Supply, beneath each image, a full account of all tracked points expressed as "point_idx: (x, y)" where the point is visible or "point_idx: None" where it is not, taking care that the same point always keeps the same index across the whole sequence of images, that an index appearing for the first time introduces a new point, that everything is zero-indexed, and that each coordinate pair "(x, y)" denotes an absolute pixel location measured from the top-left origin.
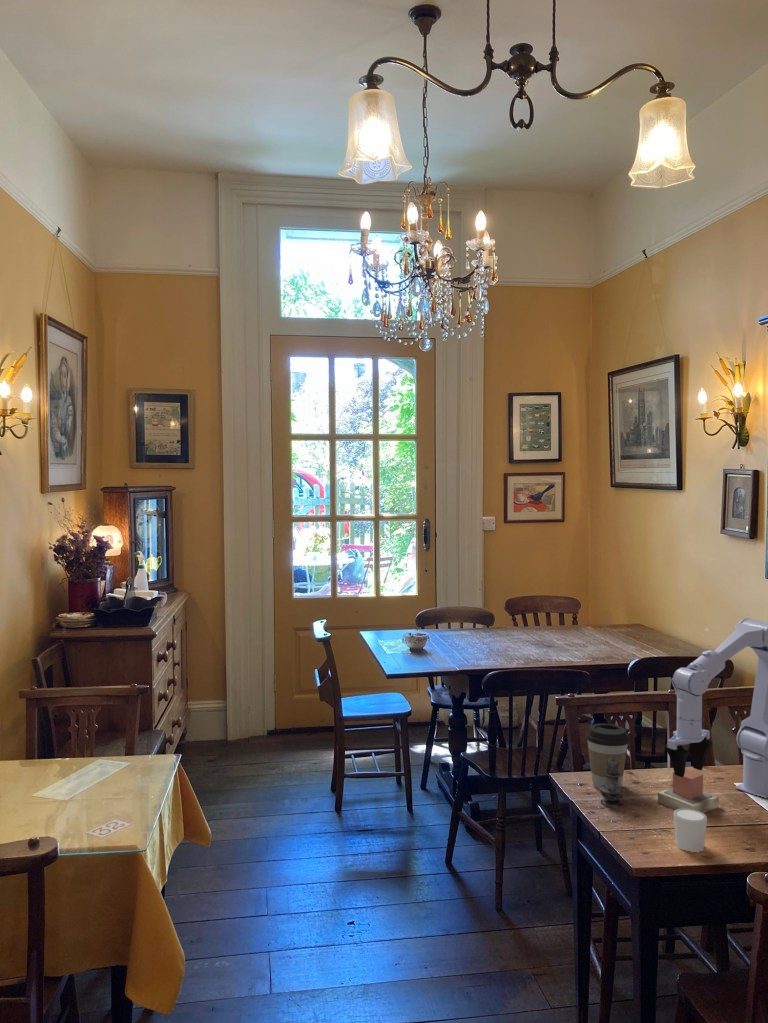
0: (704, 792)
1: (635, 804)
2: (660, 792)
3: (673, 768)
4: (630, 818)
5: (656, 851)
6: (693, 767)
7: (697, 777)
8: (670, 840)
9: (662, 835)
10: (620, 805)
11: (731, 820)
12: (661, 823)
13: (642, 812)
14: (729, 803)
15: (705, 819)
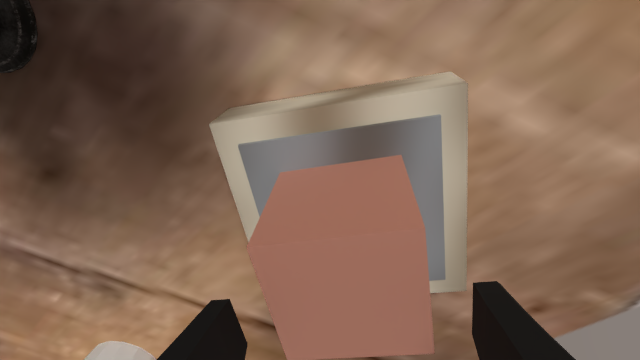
0: (457, 232)
1: (102, 78)
2: (223, 131)
3: (177, 338)
4: (18, 179)
5: (21, 347)
6: (473, 289)
7: (361, 352)
8: (91, 330)
9: (81, 305)
10: (11, 63)
11: None
12: (123, 254)
13: (95, 159)
14: (537, 253)
15: None
